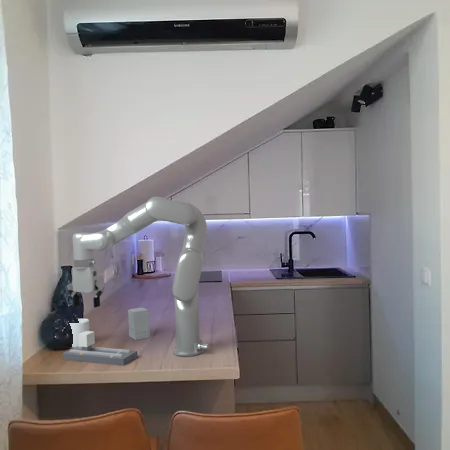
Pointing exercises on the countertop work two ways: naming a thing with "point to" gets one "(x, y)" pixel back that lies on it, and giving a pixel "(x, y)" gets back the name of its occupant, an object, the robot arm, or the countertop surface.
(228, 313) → the countertop surface
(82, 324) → the mug
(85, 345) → the cap
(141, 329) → the supplement box
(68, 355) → the fader console
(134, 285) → the countertop surface
